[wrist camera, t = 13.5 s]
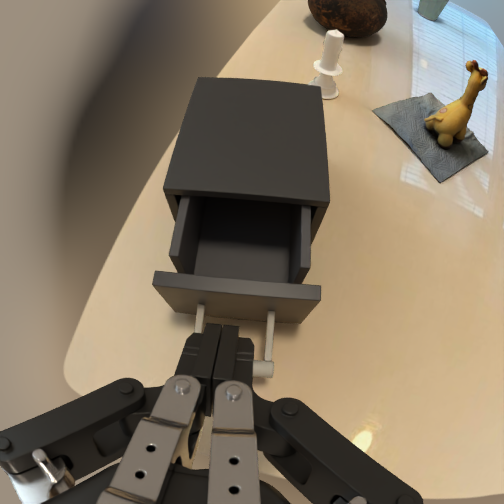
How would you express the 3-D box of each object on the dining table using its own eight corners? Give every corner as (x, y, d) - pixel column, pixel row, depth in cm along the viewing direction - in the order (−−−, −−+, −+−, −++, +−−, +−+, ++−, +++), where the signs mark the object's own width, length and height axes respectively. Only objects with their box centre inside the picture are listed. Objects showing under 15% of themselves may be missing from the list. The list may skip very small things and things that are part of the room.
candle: (309, 77, 49) (320, 19, 38) (339, 85, 48) (355, 28, 37) (304, 94, 47) (315, 32, 36) (336, 103, 46) (353, 42, 35)
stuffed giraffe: (488, 152, 44) (528, 91, 30) (438, 185, 41) (487, 108, 26) (430, 95, 50) (456, 32, 36) (370, 115, 47) (394, 34, 32)
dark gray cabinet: (307, 254, 35) (330, 202, 26) (183, 243, 36) (162, 188, 26) (306, 147, 42) (320, 86, 32) (205, 139, 42) (197, 77, 32)
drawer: (297, 380, 29) (317, 378, 21) (167, 367, 29) (139, 360, 21) (303, 199, 37) (318, 148, 29) (196, 190, 37) (186, 138, 29)
